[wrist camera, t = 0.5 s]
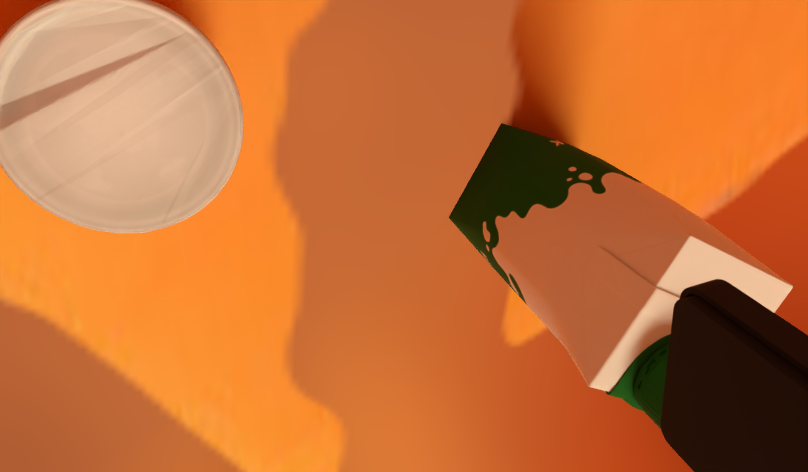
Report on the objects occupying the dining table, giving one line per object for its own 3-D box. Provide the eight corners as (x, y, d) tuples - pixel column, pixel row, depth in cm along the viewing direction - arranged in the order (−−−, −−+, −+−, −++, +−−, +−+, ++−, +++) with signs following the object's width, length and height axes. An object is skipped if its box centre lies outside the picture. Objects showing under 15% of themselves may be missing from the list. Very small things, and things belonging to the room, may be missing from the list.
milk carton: (430, 224, 43) (598, 427, 26) (498, 102, 41) (731, 237, 24) (528, 263, 47) (729, 461, 30) (595, 153, 45) (854, 301, 28)
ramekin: (64, -67, 30) (46, -64, 26) (273, 60, 36) (287, 81, 31) (-33, 134, 33) (-66, 169, 28) (176, 225, 38) (177, 267, 34)
